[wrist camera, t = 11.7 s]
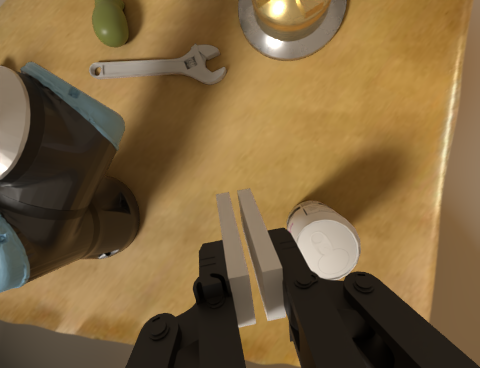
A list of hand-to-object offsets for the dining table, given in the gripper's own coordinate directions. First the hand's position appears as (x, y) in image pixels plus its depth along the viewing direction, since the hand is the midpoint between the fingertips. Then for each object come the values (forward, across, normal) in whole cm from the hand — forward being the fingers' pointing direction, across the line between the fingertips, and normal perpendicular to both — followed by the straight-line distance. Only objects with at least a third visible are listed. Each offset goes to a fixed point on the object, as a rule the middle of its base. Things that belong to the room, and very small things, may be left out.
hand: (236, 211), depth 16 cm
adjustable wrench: (+41, -7, +8) cm, 42 cm away
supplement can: (+22, +13, -19) cm, 32 cm away
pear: (+46, -14, +15) cm, 50 cm away
